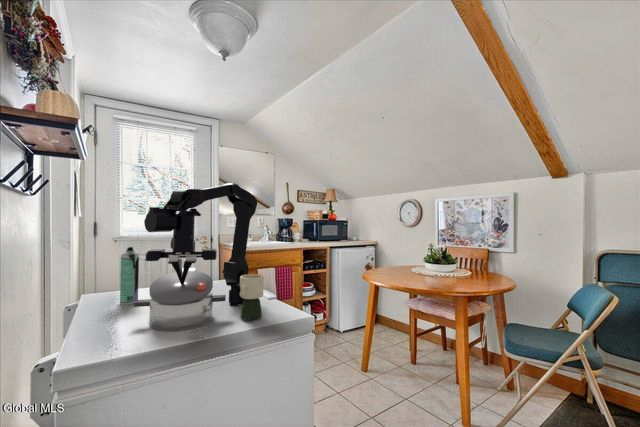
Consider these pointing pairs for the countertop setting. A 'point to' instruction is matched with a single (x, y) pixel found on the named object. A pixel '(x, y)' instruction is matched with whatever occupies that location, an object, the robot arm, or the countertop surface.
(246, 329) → the countertop surface
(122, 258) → the spray can
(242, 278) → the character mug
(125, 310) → the countertop surface
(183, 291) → the cooker lid
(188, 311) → the cooker pot
